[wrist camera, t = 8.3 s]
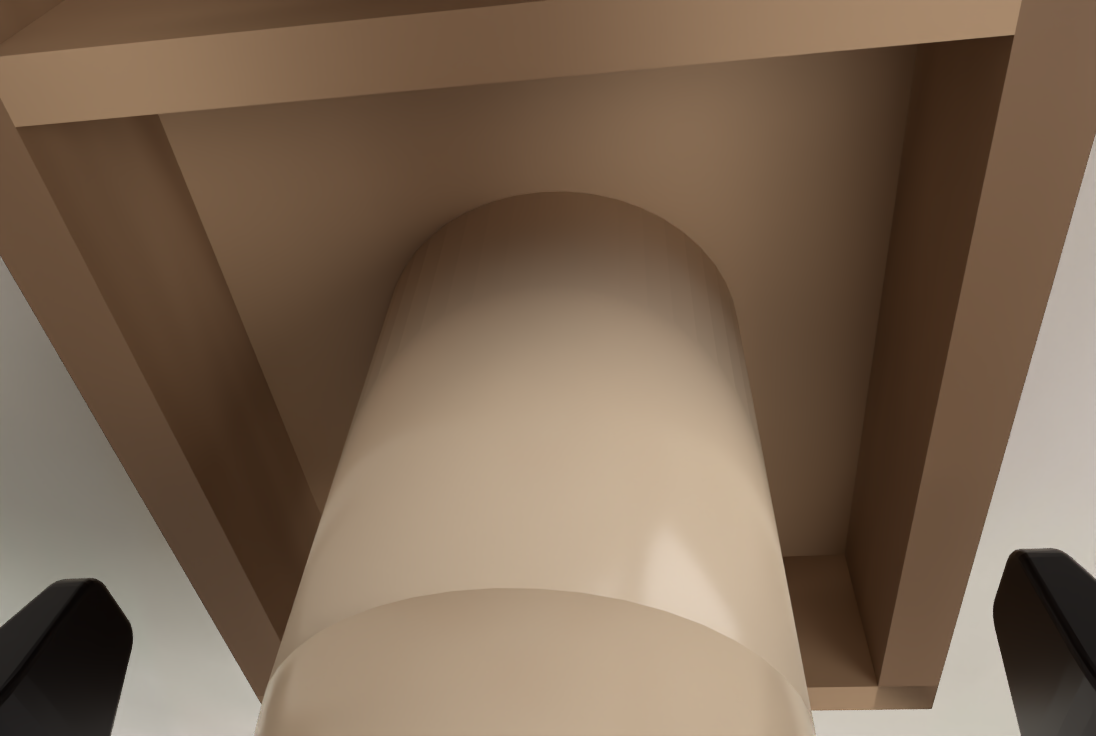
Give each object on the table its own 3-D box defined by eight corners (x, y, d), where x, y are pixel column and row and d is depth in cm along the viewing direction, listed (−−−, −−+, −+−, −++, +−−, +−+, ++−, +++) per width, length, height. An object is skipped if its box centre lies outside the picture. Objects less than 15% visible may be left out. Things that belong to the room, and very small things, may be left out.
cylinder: (742, 176, 10) (942, 987, 4) (735, 462, 13) (847, 1188, 7) (349, 206, 11) (10, 969, 5) (426, 476, 14) (278, 1165, 8)
